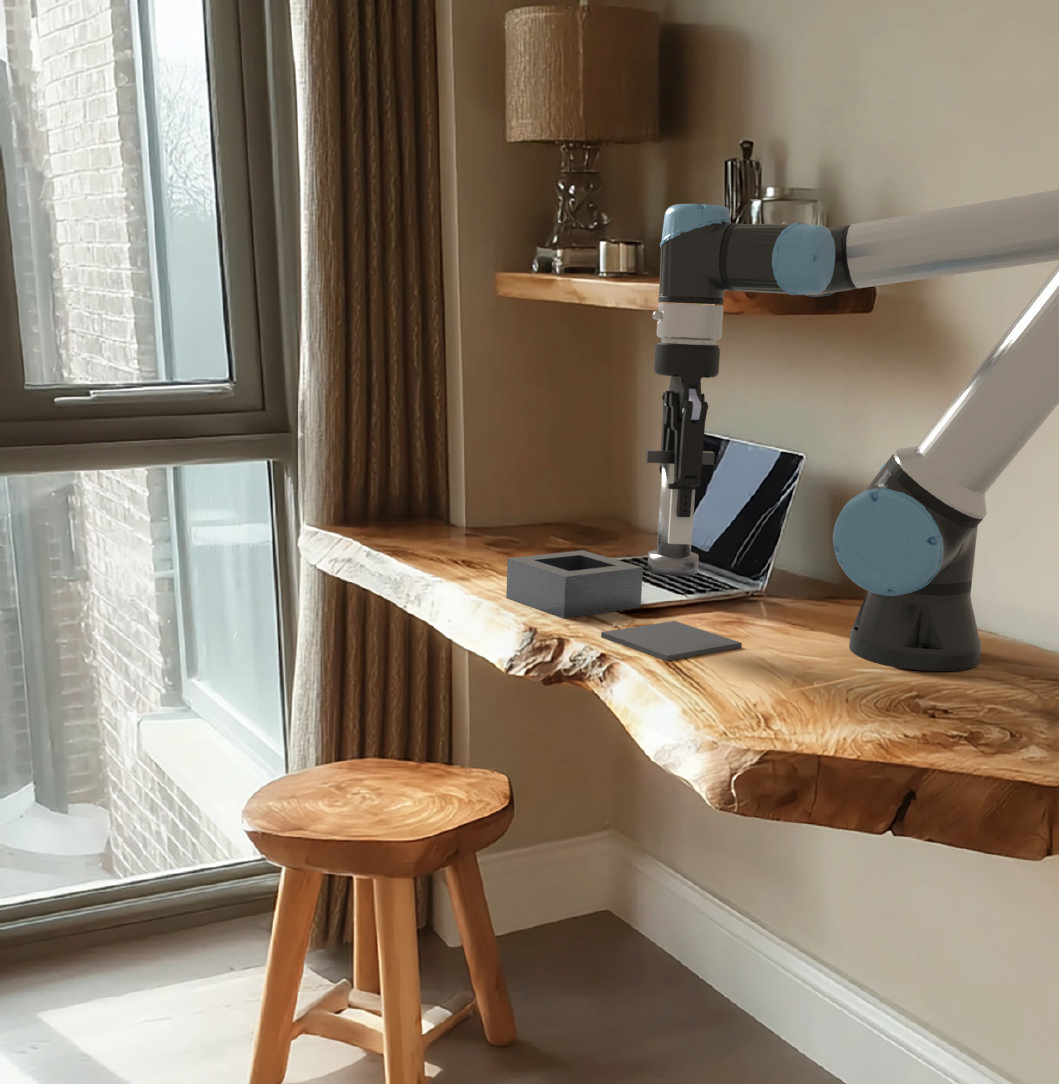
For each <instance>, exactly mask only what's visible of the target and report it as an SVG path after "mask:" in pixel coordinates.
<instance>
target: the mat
mask: <svg viewBox="0 0 1059 1084" xmlns="http://www.w3.org/2000/svg"><path fill="white" fill-rule="evenodd" d="M600 637H601V638H603V639H606V640H609V641H611V642H614V643H617V644H620V645H622V646H625V647H628V648H630V649H633V650H636V651H639V652H642V653H643V654H644V653H645V654H647V655H650V656H652V657H655V658H657V659H661V660H663V661H666V662H667V661H669V662H670V661H675V660H680V659H686V658H690V657H695V656H702V655H706V654H713V653H719V652H724V651H729V650H735V649H742V648H743V647H742V646H743V645H742V644H743V643H742V642H741V641H738V640H735V639H731V638H729V637H726V636H722V635H719V634H717V633H713V632H710V631H707V630H704V629H702V628H699V627H695V626H692V625H689V624H687V623H686V624H685V623H683V622H680V621H677V620H670V621H664V622H659V623H658V622H657V623H651V624H647V625H646V624H645V625H639V626H632V627H626V628H620V629H614V630H613V629H612V630H606V631H601V633H600Z"/></svg>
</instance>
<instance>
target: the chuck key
mask: <svg viewBox="0 0 1059 1084" xmlns="http://www.w3.org/2000/svg"><path fill="white" fill-rule="evenodd" d="M644 455H645V456H644V462H645V463H646V464H660V463H662V474H661V480H660V493H659V509H658V510H659V511H658V513H659V515H658V526H657V527H658V528H657V542H656V543H657V544H656V545H657V546H656V549H653V550H650V551H648V553H647V554H648V556H647V570H648V571H649V572H651V573H653V574H657V575H661V576H672V577H674V576H675V577H688V576H694V575H697V574H698V571H699V557H700V556H699V554H698V553H695V552H693V551H692V544H669V543H668V529H669V513H670V497H671V489H668V484H673V483H674V456H675V450H661V449H645V454H644ZM715 455H716V454H715V452H713V451H709V450H708V451H707V450H703V457H702V465H707V466H708V465H709V466H710V465H713V466H714V465H715Z"/></svg>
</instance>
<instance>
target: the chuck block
mask: <svg viewBox="0 0 1059 1084" xmlns="http://www.w3.org/2000/svg"><path fill="white" fill-rule="evenodd" d="M506 564H507V567H506V595H505V597H506V598H507V599H509V600H511V601H514V602H517V603H520V604H522V605H526V606H528V607H531V608H534V609H536V610H540V611H542V612H544V613H548V614H551V615H553V616H556V617H559V618H561V619H569V618H576V617H582V616H589V615H598V614H605V613H610V612H617V611H619V612H620V611H624V610H632V609H639V608H640V609H641V608H642V607H641V606H642V591H643V590H642V589H643V588H642V587H643V574H644V573H643V572H644V568H643V566H640V565H635V564H633V563H629V562H625V561H621V560H618V559H616V558H611V557H607V556H605V555H601V554H597V553H594V552H591V551H588V550H584V549H581V550H573V551H563V552H555V553H554V552H553V553H545V554H535V555H527V556H519V557H518V556H516V557H508V558H507V563H506Z"/></svg>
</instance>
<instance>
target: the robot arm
mask: <svg viewBox="0 0 1059 1084" xmlns="http://www.w3.org/2000/svg"><path fill="white" fill-rule="evenodd" d="M659 247H660V263H659V284H658V285H659V288H658V289H659V290H658V298H657V299H658V301H657V302H658V304H657V309H658V310H657V311H653V313H652V319H653V320H656V321H657V322H656V336H657V337H658V338H660V339H661V341H660V342H657V344H656V345H655V346H654V363H653V365H654V366H653V371H654V373H655V374H657V375H658V376H664V377H671V378H670V382H669V386H668V387H669V389H668V390H665V391H664V392H663V394H662V396H661V399H662V422H661V423H662V424H661V442H660V450H675V456H674V483H673V484H668V489H671V497H670V513H669V529H668V543H669V544H691V545H692V543H693V542H692V541H693V540H692V539H693V528H694V527H693V526H694V513H695V512H694V511H695V498H696V497H695V496H696V490H697V487H701V483H702V470H703V469H702V467H703V464H702V457H703V451H704V445H705V431H706V430H705V429H706V420H707V414H708V409H709V404H708V402H707V401H706V400H705V399H706V395H705V393H702V383H701V380H702V379H703V378H704V379H705V378H706V379H710V378H716V377H718V375H719V373H720V360H721V358H720V356H721V348H719V347H720V346H719V345H718V344H717V341H720V340H721V339H722V337H723V321H724V320H723V319H724V307H725V306H724V296H725V292H726V291H728V292H748V293H749V292H751V293H764V294H785V295H791V296H795V295H796V296H806V297H811V298H813V297H814V298H815V297H816V298H817V297H818V298H819V297H827V296H831V295H833V294H835V293H838V292H839V293H840V292H845V291H853V290H855V289H863V288H870V287H878V286H883V285H884V286H886V285H892V284H899V283H906V282H913V281H919V280H920V281H921V280H928V279H935V278H936V279H937V278H941V277H949V276H955V275H957V276H958V275H962V274H963V275H964V274H970V273H971V274H972V273H978V272H984V271H992V270H999V269H1005V268H1006V269H1007V268H1014V267H1021V266H1028V265H1034V264H1042V263H1049V262H1055V261H1059V189H1053V190H1047V191H1041V192H1035V193H1030V194H1023V195H1018V196H1011V197H1006V198H1005V197H1004V198H1001V199H1000V198H999V199H993V200H987V201H983V202H977V203H971V204H963V205H958V206H953V207H946V208H940V209H936V210H930V211H923V212H917V213H912V214H905V215H900V216H893V217H887V218H882V219H877V220H870V221H864V222H857V223H852V224H847V225H839V226H833V227H826V226H825V225H822V224H821V225H818V224H810V223H802V222H794V223H756V224H755V223H750V224H749V223H748V224H747V223H746V224H745V223H742V224H741V223H735V222H731V218H730V211H729V209H728V208H727V207H726V206H724V205H718V204H707V203H706V204H705V203H703V204H702V203H701V204H698V203H677V204H673V205H670V206H669V207H668V208H667V209H666V211H665V213H664V218H663V226H662V235H661V241H660V243H659ZM977 367H978V368H977V369H976V370H975V371H974V373H973V374H972V375H971V376H970V377H969V379H968V380H967V382H966V383H965V384H964V385H963V386H962V388H961V389H960V391H959V392H958V393H957V394H956V395H955V397H954V399H952V400H951V402H950V403H949V404H948V406H947V407H946V408H945V410H944V411H943V412H942V413H941V415H940V416H939V418H938V419H937V420H936V422H935V423H934V424H933V425H932V426H931V428H930V429H929V431H927V433H926V434H925V435H924V437H923V438H922V439H921V440H920V442H919V443H918V444H917V445H915V446H909V447H903V448H899V449H898V448H897V449H896V450H895V451H894V452H893V454H892V455H891V456H890V457H889V459H888V460H887V461H886V462H885V463H883V464H882V465H881V466H880V469H879V471H878V472H877V474H876V475H875V476H874V478H873V479H872V481H870V483H869V485H868V486H867V487H866V488H865V489H864V491H861V492H859V493H858V494H856V495H854V496H853V498H850V499H849V500H848V501H847V502H846V503H845V504H844V506H843V507H842V509H841V511H840V512H839V514H838V516H837V518H836V520H835V524H834V527H833V531H832V544H833V551H834V554H835V557H836V561H837V563H838V564H839V567H841V569H842V571H843V572H844V573H845V575H846V576H847V577H848V579H850V580H851V582H853V583H854V584H855V585H857V586H859V587H860V588H862V589H863V590H865V591H867V592H866V594H865V597H864V598H863V601H862V604H861V605H860V608H859V611H858V612H857V615H856V619H855V620H854V623H853V625H852V627H851V629H850V632H849V633H850V635H849V644H848V646H849V647H848V648H849V650H850V652H852V653H853V654H854V655H856V656H857V657H859V658H862V659H864V660H867V661H869V662H873V663H876V664H880V665H883V666H888V667H889V666H890V667H893V668H899V669H905V670H913V669H915V671H925V672H954V671H962V670H963V671H964V670H968V669H971V668H975V667H976V666H978V665H979V664H980V660H981V650H982V642H981V639H980V637H979V631H978V625H977V621H976V616H975V612H974V608H973V602H972V596H971V594H972V592H971V591H972V584H973V583H972V582H973V577H974V575H973V573H974V566H975V555H976V547H977V537H978V527H979V524H980V523H981V522H982V521H983V520H984V519H985V517H986V516H987V514H988V513H987V504H986V493H987V492H988V490H989V489H990V488H991V487H992V485H994V483H995V482H996V481H997V479H998V478H999V477H1000V476H1001V475H1002V473H1003V472H1004V471H1005V470H1006V469H1007V468H1008V466H1009V465H1010V463H1011V462H1012V461H1013V460H1014V459H1015V457H1016V456H1017V455H1018V454H1019V453H1020V452H1021V451H1022V449H1023V448H1024V447H1025V446H1026V444H1027V443H1028V442H1029V440H1030V439H1031V438H1032V437H1033V436H1034V435H1035V433H1036V432H1037V431H1038V430H1039V429H1040V427H1041V426H1042V424H1043V423H1045V421H1046V420H1047V419H1048V417H1049V416H1050V415H1051V414H1052V413H1053V412H1054V410H1055V409H1056V408H1057V406H1058V405H1059V264H1057V266H1056V267H1055V268H1054V269H1053V271H1051V273H1050V275H1049V276H1048V277H1047V279H1046V280H1045V281H1044V282H1043V284H1042V285H1041V287H1040V288H1039V289H1038V291H1037V292H1036V293H1035V294H1034V295H1033V296H1032V298H1031V299H1030V301H1029V302H1028V303H1027V304H1026V306H1025V307H1024V308H1023V309H1022V311H1021V312H1020V313H1019V315H1018V316H1017V317H1016V318H1015V320H1014V321H1013V322H1012V324H1011V325H1010V326H1009V328H1008V329H1007V330H1006V331H1005V333H1004V334H1003V335H1002V337H1001V338H1000V339H999V341H997V343H996V345H994V347H993V348H992V350H991V351H990V352H989V353H988V354H987V356H986V357H985V358H984V359H983V361H982V362H981V363H980V365H979V366H977ZM659 464H660V465H659V466H658V467H659V473H660V474H661V475H662V463H659Z"/></svg>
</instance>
